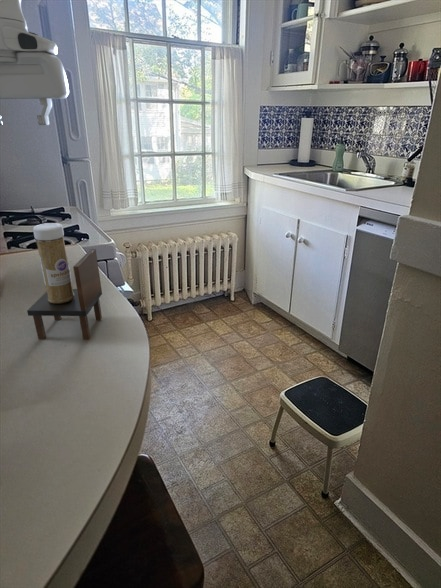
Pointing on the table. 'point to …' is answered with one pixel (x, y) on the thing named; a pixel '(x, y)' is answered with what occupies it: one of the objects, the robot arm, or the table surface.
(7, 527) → the table surface
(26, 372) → the table surface
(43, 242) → the sprinkles bottle
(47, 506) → the table surface
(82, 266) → the chair
